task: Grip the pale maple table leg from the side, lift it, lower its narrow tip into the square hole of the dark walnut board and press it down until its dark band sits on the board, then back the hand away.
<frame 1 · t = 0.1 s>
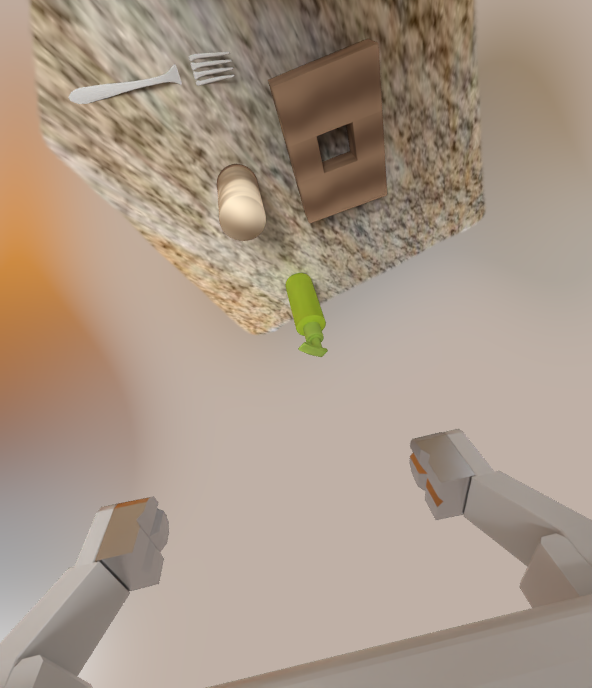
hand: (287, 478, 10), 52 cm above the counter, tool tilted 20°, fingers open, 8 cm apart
walnut board: (331, 139, 51), on the counter
fork: (141, 81, 42), on the counter
soap dispenser: (296, 282, 71), on the counter
maple leg: (236, 176, 52), on the counter
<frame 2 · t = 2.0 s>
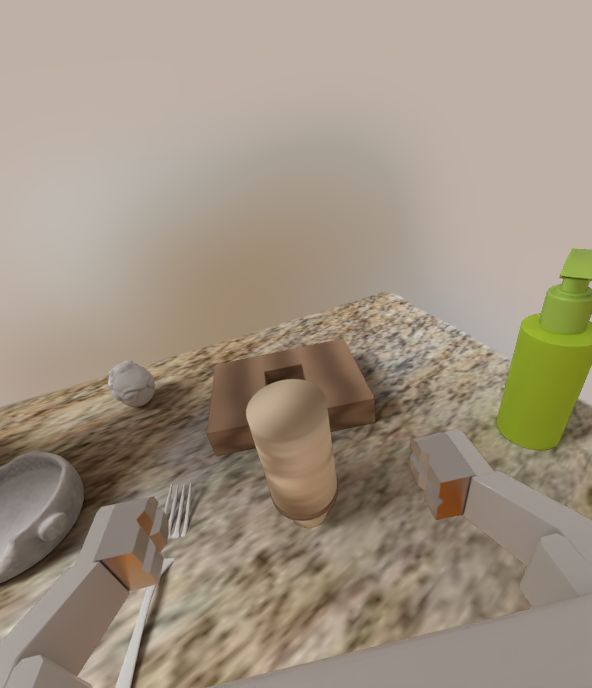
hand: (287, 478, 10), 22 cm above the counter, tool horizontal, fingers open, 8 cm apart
walnut board: (289, 401, 46), on the counter
fork: (145, 631, 26), on the counter
dish: (22, 526, 36), on the counter
frog figurine: (142, 402, 51), on the counter
soap dispenser: (525, 433, 36), on the counter
maple leg: (309, 508, 32), on the counter
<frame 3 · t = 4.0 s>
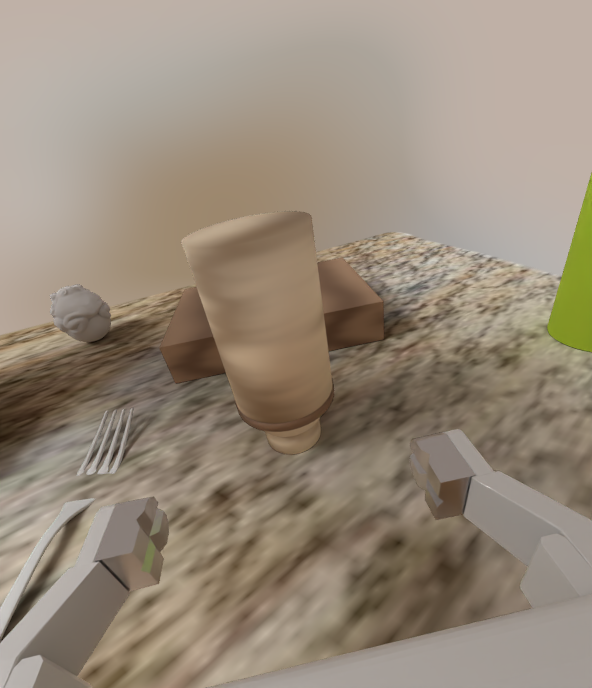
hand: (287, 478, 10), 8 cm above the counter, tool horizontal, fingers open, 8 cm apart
walnut board: (274, 326, 36), on the counter
fork: (32, 598, 17), on the counter
frog figurine: (97, 339, 42), on the counter
soap dispenser: (589, 338, 26), on the counter
maple leg: (294, 432, 23), on the counter
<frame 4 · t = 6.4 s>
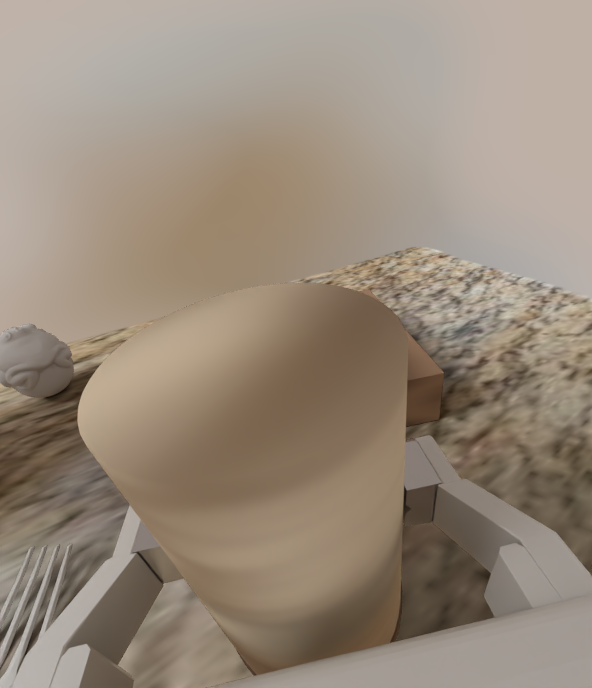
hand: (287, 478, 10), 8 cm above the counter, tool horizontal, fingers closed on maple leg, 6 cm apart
walnut board: (283, 386, 27), on the counter
frog figurine: (56, 391, 33), on the counter
maple leg: (323, 617, 14), on the counter, touching gripper
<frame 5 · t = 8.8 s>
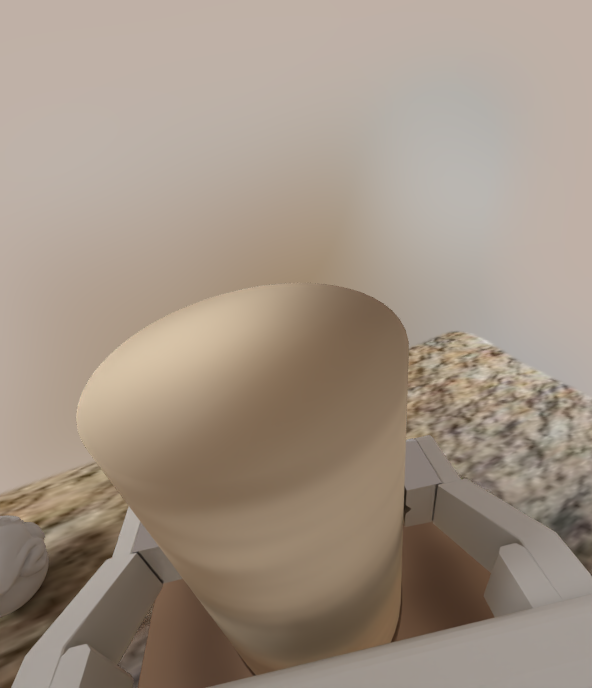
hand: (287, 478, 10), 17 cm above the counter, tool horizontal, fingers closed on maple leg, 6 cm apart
walnut board: (332, 629, 20), on the counter
frog figurine: (26, 588, 25), on the counter
maple leg: (323, 618, 14), point 8 cm above the counter, touching gripper
when the fingers open (9 cm above the counter, at t = 11.7 s): maple leg stays where it is, resting on walnut board.
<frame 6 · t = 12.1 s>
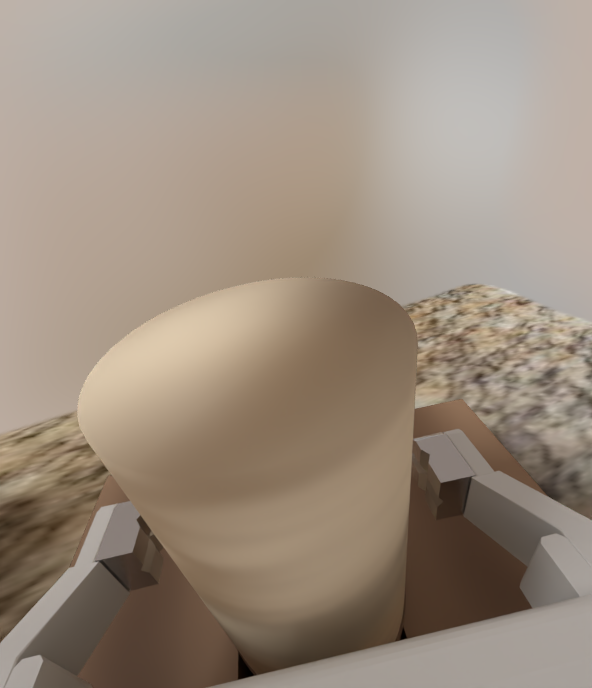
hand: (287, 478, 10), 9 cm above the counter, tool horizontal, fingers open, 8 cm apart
walnut board: (322, 621, 14), on the counter
maple leg: (325, 618, 14), resting on walnut board
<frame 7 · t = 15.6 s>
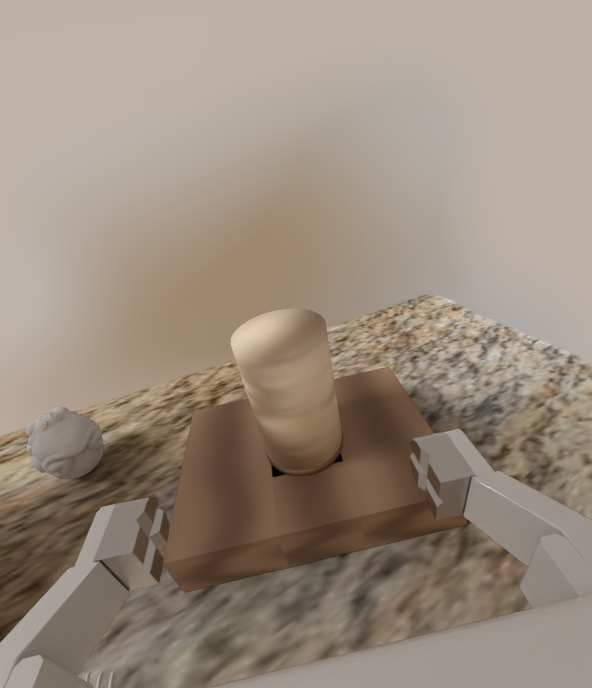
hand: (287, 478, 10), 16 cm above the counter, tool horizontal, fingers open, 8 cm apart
walnut board: (310, 473, 28), on the counter
frog figurine: (87, 468, 34), on the counter
maple leg: (310, 469, 28), resting on walnut board
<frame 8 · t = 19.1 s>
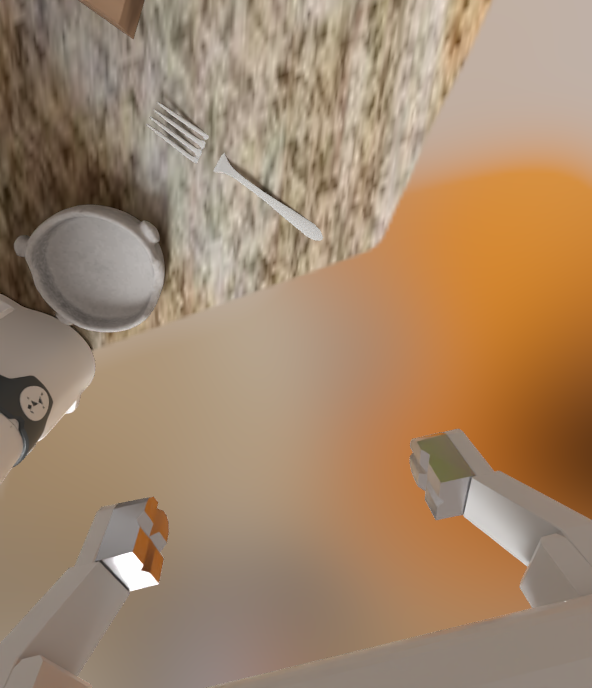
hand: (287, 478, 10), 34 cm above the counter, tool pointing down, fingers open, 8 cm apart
fork: (258, 191, 37), on the counter
dish: (108, 263, 39), on the counter
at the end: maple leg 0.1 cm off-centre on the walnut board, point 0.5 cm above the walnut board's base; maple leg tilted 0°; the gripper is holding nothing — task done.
